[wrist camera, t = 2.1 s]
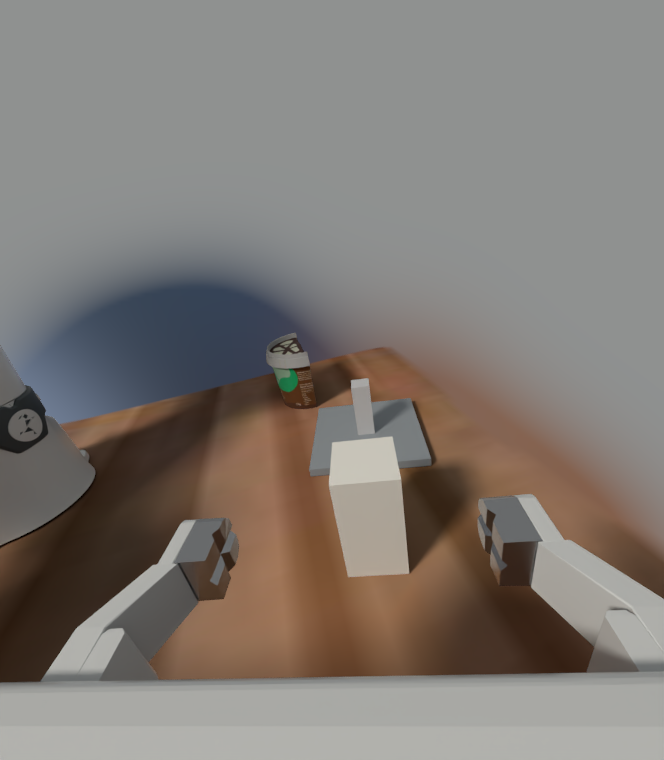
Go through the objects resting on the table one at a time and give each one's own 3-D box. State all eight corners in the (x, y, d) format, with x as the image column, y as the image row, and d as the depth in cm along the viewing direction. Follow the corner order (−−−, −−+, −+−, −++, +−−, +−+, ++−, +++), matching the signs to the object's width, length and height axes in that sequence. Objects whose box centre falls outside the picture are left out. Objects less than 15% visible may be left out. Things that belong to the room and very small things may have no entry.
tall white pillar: (348, 577, 27) (328, 485, 23) (348, 526, 32) (332, 442, 28) (409, 573, 27) (401, 479, 22) (400, 522, 31) (392, 436, 27)
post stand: (310, 476, 39) (297, 419, 36) (320, 414, 52) (310, 367, 48) (431, 465, 37) (429, 405, 34) (410, 403, 50) (407, 355, 47)
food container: (274, 389, 63) (261, 339, 58) (305, 381, 64) (295, 331, 59) (281, 421, 52) (265, 362, 47) (319, 411, 53) (307, 352, 48)
